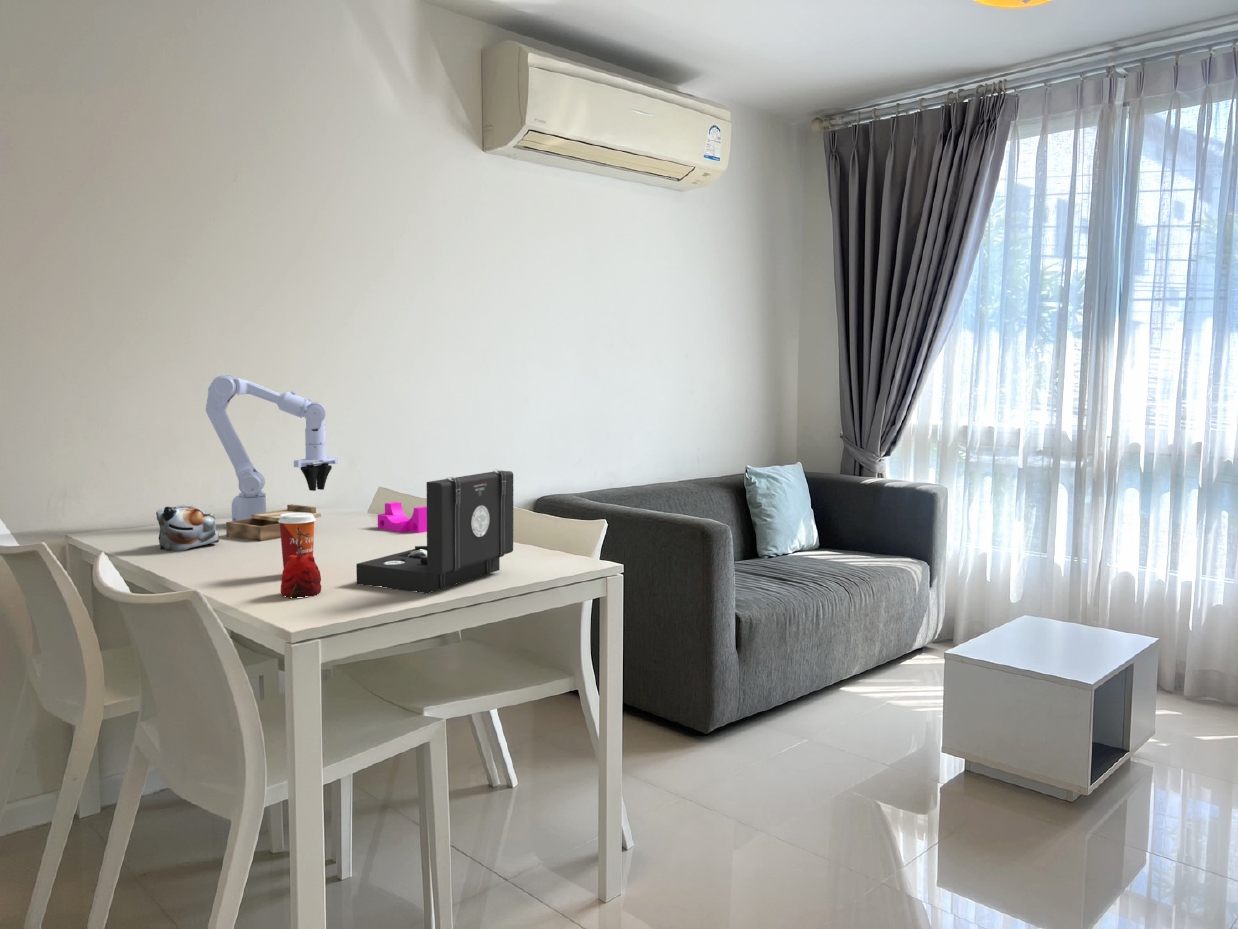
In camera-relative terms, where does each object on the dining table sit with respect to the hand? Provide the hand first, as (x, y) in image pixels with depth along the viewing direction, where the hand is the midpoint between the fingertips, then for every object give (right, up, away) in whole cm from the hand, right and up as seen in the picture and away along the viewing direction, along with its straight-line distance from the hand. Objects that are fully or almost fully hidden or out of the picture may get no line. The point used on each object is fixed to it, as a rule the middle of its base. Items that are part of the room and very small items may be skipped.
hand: (316, 490), depth 268 cm
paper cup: (+20, -17, -71) cm, 76 cm away
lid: (-3, -7, -15) cm, 17 cm away
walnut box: (-8, -12, -21) cm, 26 cm away
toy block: (+28, -12, -10) cm, 32 cm away
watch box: (+48, -18, -71) cm, 88 cm away
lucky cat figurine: (-20, -14, -37) cm, 44 cm away
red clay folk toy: (+26, -19, -89) cm, 95 cm away
